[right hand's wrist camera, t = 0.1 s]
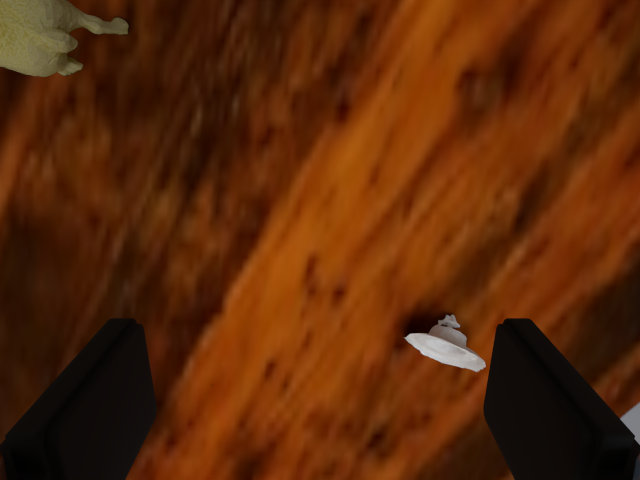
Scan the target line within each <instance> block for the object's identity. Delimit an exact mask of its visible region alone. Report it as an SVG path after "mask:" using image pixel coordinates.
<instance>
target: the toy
mask: <svg viewBox="0 0 640 480" xmlns="http://www.w3.org/2000/svg"><path fill="white" fill-rule="evenodd" d="M79 27H84V28H87V29H88V30H89V31H91V32H93V33H94V34H102V33H108V34H128V27H129V25H128V24H127V22H126V21H125V20H124V19H122V18H114V19H113V20H112V22H106V21H102V20H101V19H100V18H98V17H95V16H92V15H87V14H85V13H84V12H82V11H80V10H78V9H77V8H75V7H74V6H73V5H72V4H71V3H69V2H68V1H66V0H0V67H5V68H8V69H11V70H14V71H17V72H20V73H23V74H27V75H33V76H41V77H47V76H50V75H52V74H54V73H56V72H58V73H60V74H61V75H64V76H68V75H71V73H74V72H76V71H78V70H81V69H82V67H83V64H82V63H80V62H78V61H76V60H75V59H74V58H72V57H68V56H67V53H68V52H69V51H72V50H73V49H75V48H76V47H77V46H78V41H77V40H76V39H75V38H73V37H72V36H70V32H71V31H73V30H74V29H76V28H79Z"/></svg>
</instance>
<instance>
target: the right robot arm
mask: <svg viewBox="0 0 640 480" xmlns="http://www.w3.org/2000/svg"><path fill="white" fill-rule="evenodd" d="M155 416H156V400H155V394H154V388H153V382H152V376H151V370H150V364H149V358H148V352H147V346H146V340H145V334H144V328H143V326H142V325H141V324H137V322H136V320H135V319H133V318H113V319H110V320H108V321H107V323H106V324H105V325H104V326H103V327H102V328H101V329H100V330H99V332H98V333H97V334H96V335H95V336H94V337H93V338H92V339H91V340H90V342H89V343H88V344H87V345H86V346H85V347H84V348H83V349H82V351H81V352H80V353H79V354H78V355H77V356H76V357H75V358H74V359H73V361H72V362H71V363H70V364H69V365H68V366H67V367H66V368H65V370H64V371H63V372H62V373H61V374H60V375H59V376H58V377H57V378H56V380H55V381H54V382H53V383H52V384H51V385H50V386H49V387H48V389H47V390H46V391H45V392H44V393H43V394H42V395H41V396H40V397H39V399H38V400H37V401H36V402H35V403H34V404H33V405H32V406H31V408H30V409H29V410H28V411H27V412H26V413H25V414H24V415H23V416H22V418H21V419H20V420H19V421H18V422H17V423H16V424H15V425H14V427H13V428H12V429H11V430H10V431H9V432H8V433H7V434H6V435H5V438H6V439H5V440H4V441H3V443H2V444H1V445H0V480H125V479H126V477H127V475H128V473H129V471H130V469H131V467H132V465H133V463H134V461H135V459H136V457H137V454H138V452H139V450H140V448H141V446H142V444H143V442H144V440H145V438H146V436H147V434H148V432H149V430H150V428H151V426H152V424H153V422H154V420H155ZM484 416H485V420H486V422H487V424H488V426H489V428H490V430H491V432H492V434H493V436H494V438H495V440H496V442H497V444H498V446H499V448H500V450H501V452H502V454H503V457H504V459H505V461H506V463H507V465H508V467H509V469H510V471H511V473H512V475H513V477H514V479H515V480H640V445H639V444H638V443H637V441H636V440H635V439H634V438H635V436H634V434H633V433H632V432H631V431H630V430H629V429H628V428H627V427H626V425H625V424H624V423H623V422H622V421H621V420H620V419H619V418H618V416H617V415H616V414H615V413H614V412H613V411H612V410H611V409H610V408H609V406H608V405H607V404H606V403H605V402H604V401H603V400H602V399H601V397H600V396H599V395H598V394H597V393H596V392H595V391H594V390H593V389H592V387H591V386H590V385H589V384H588V383H587V382H586V381H585V380H584V378H583V377H582V376H581V375H580V374H579V373H578V372H577V371H576V370H575V368H574V367H573V366H572V365H571V364H570V363H569V362H568V361H567V359H566V358H565V357H564V356H563V355H562V354H561V353H560V352H559V351H558V349H557V348H556V347H555V346H554V345H553V344H552V343H551V342H550V340H549V339H548V338H547V337H546V336H545V335H544V334H543V333H542V332H541V330H540V329H539V328H538V327H537V326H536V325H535V324H534V323H533V321H532V320H530V319H527V318H507V319H505V320H504V322H503V324H499V325H498V326H497V328H496V334H495V340H494V346H493V352H492V358H491V364H490V370H489V376H488V382H487V388H486V394H485V400H484Z"/></svg>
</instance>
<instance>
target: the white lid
mask: <svg viewBox="0 0 640 480" xmlns="http://www.w3.org/2000/svg"><path fill="white" fill-rule="evenodd" d="M441 324H444V325H448V326H447V327H444V326H440V325H441ZM453 327H455V328H459V327H460V325H459V324H458V323H457V321H456V318H455V316H454V315H451V316H449V315H446V317H445V319H443V320H442V321H441V320H438V325H435V326H434V327H432V328H431V330H430V332H429V333H414V334H409V335H408V336H406V337H404V338H405V339H406V340H407V341H408V342H409V343H411V344H412V345H413V346H414V347H415V348H417V349H418V350H420V352H421V353H422V354H423V355H426V356H429V357H430V358H433V359H435V360H438V361H440V362H441V363H445V364H450V365H454V366H458V367H461V368H468V369H471V370H474V371H476V372H477V370H478V371H479V370H480V369H483V367H486V366H485V362H484V360H482V359H481V358H480V357H479V356H478V355H477V353H475V352H474V351H473V350H471V349H469V348H467V347H466V340H467V338H466V336H465V335H464V334H462V333H461V332H459V331H457V330H455V329H452V328H453Z"/></svg>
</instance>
